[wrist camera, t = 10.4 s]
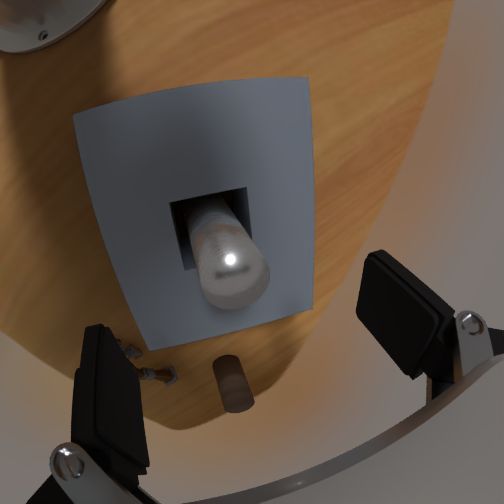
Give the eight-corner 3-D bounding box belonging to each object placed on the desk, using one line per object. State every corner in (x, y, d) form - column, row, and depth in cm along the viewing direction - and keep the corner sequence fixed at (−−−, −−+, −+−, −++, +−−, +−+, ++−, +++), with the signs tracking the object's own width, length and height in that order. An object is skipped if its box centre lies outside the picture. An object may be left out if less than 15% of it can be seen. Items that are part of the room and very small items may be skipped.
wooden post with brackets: (113, 333, 24) (127, 375, 22) (164, 347, 31) (179, 381, 28) (103, 342, 24) (115, 383, 22) (154, 354, 31) (168, 388, 29)
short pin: (210, 358, 30) (221, 401, 25) (237, 351, 31) (253, 393, 26) (215, 375, 32) (227, 415, 27) (240, 368, 33) (255, 407, 28)
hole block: (92, 113, 16) (72, 114, 12) (278, 82, 19) (308, 77, 15) (148, 312, 25) (149, 351, 21) (289, 278, 28) (312, 308, 24)
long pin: (179, 190, 21) (195, 259, 12) (220, 181, 22) (268, 242, 12) (186, 227, 23) (208, 316, 13) (225, 219, 23) (272, 299, 14)
